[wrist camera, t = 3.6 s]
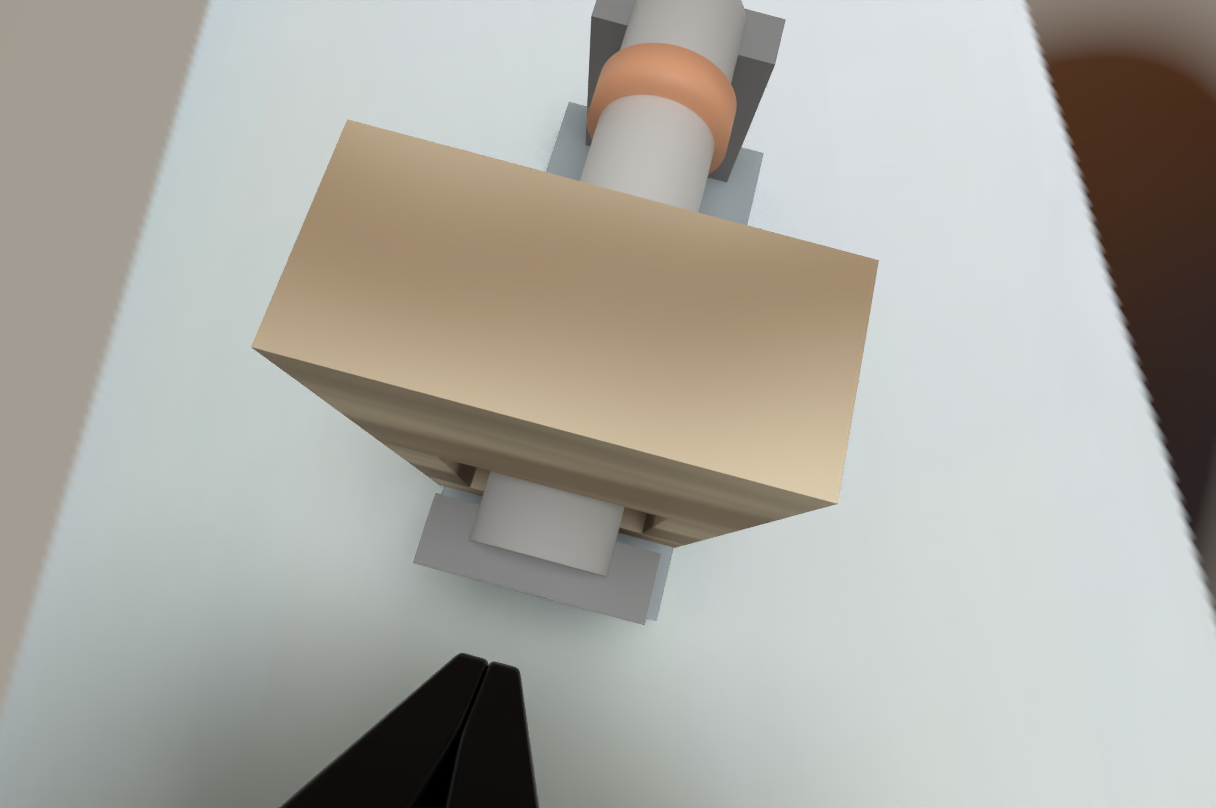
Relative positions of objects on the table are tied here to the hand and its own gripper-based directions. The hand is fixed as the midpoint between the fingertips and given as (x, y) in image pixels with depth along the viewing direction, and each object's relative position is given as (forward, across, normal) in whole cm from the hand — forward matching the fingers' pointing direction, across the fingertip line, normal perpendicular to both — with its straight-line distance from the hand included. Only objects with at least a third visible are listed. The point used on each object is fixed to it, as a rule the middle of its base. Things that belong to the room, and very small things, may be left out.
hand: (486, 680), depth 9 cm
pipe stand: (+15, 0, -2) cm, 15 cm away
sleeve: (+10, 0, -3) cm, 10 cm away
